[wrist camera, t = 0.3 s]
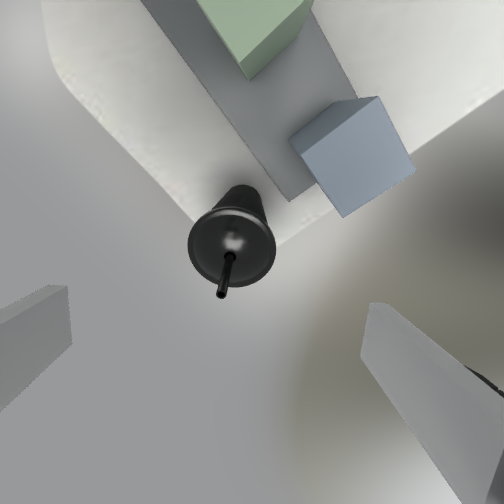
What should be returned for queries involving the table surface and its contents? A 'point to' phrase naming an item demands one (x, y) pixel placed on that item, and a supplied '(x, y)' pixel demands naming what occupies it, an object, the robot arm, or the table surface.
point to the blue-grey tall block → (353, 152)
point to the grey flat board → (261, 87)
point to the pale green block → (256, 28)
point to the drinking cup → (233, 241)
